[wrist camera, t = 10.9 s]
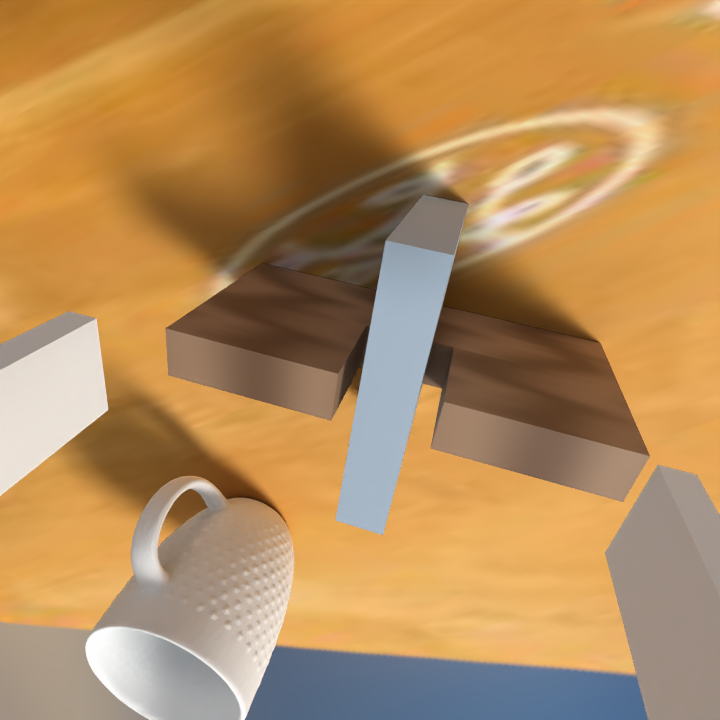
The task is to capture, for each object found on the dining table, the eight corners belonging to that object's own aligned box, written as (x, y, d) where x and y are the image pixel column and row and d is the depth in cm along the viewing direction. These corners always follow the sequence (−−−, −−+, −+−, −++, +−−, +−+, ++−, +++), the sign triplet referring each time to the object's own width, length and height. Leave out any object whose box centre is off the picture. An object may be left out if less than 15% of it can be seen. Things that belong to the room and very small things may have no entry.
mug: (154, 441, 39) (16, 576, 28) (272, 428, 35) (168, 579, 24) (224, 572, 45) (133, 728, 34) (332, 573, 41) (271, 749, 30)
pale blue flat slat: (413, 419, 32) (382, 534, 23) (378, 409, 32) (335, 520, 24) (468, 203, 25) (454, 255, 16) (423, 194, 25) (385, 240, 17)
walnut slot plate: (260, 299, 31) (168, 375, 22) (262, 263, 29) (165, 328, 21) (583, 379, 28) (623, 502, 19) (600, 342, 27) (649, 456, 18)
